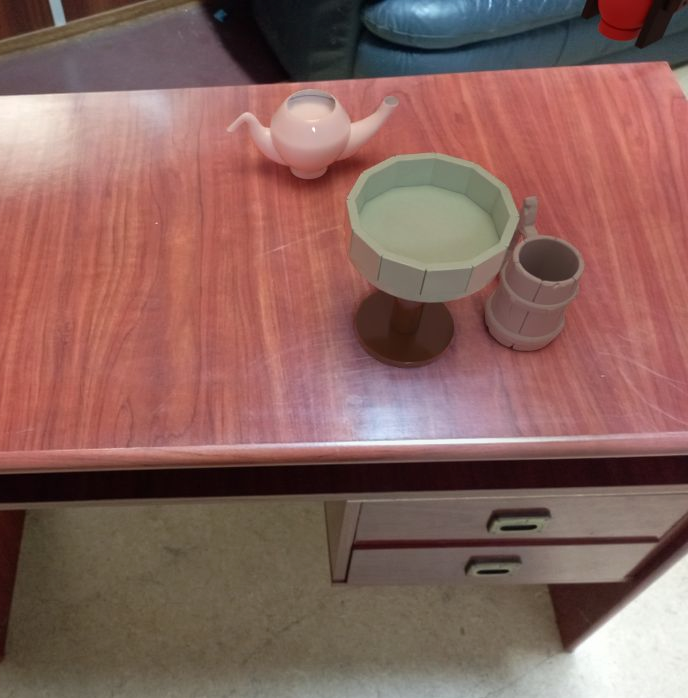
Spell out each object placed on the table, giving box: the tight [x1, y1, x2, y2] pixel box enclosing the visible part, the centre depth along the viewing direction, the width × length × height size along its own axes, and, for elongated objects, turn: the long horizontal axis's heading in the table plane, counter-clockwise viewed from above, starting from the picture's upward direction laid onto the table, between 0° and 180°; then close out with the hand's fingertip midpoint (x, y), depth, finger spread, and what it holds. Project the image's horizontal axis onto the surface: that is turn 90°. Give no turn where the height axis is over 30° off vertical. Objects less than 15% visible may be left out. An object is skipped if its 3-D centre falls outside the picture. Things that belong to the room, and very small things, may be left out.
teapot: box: [225, 88, 400, 180], centre depth 87 cm, size 10×20×9 cm, turn 90°
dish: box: [342, 151, 520, 369], centre depth 68 cm, size 14×14×17 cm
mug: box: [484, 195, 586, 352], centre depth 71 cm, size 8×12×12 cm, turn 7°
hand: (620, 26), depth 65 cm, fingers closed on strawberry, 5 cm apart
